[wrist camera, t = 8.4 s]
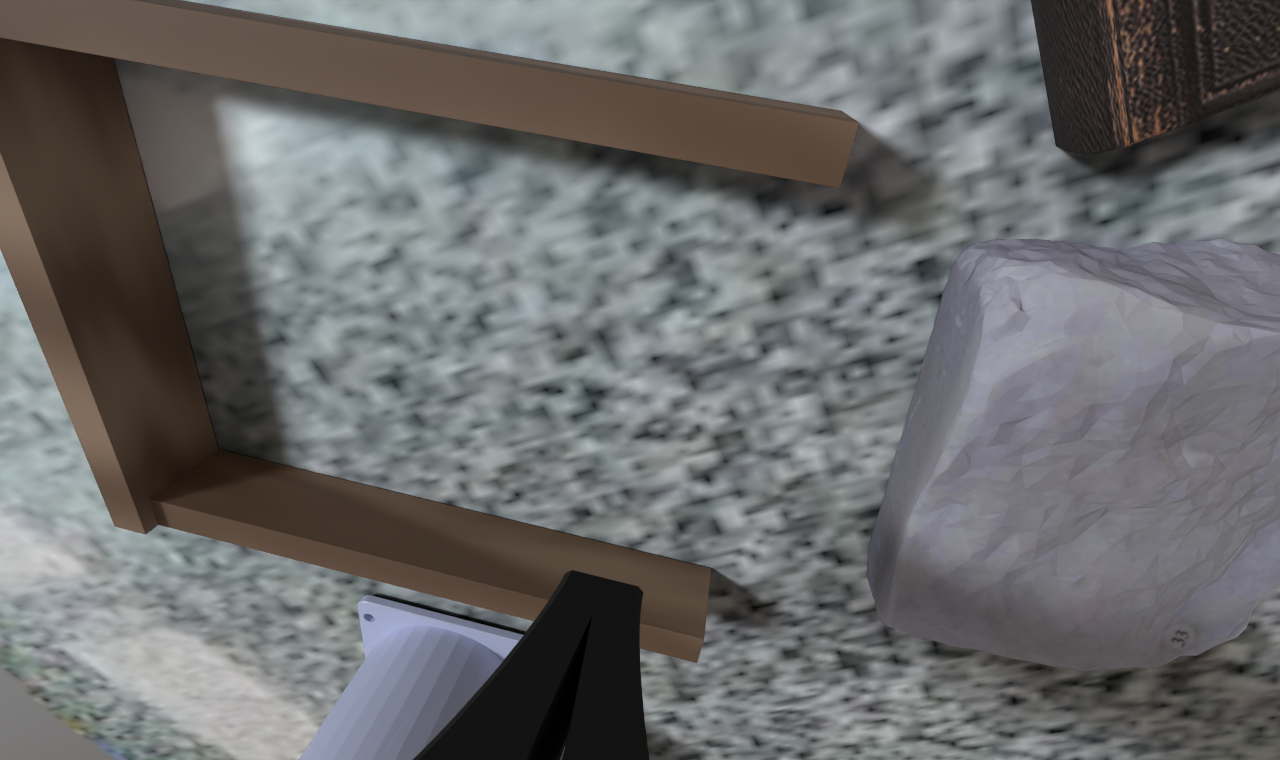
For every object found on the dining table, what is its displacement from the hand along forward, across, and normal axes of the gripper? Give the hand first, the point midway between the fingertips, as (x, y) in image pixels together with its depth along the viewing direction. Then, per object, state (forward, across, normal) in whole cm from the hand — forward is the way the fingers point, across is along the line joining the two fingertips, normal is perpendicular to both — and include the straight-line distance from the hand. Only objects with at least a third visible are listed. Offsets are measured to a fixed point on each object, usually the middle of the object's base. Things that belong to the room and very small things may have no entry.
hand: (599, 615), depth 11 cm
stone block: (+9, -12, -1) cm, 15 cm away
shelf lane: (+8, +7, 0) cm, 11 cm away
